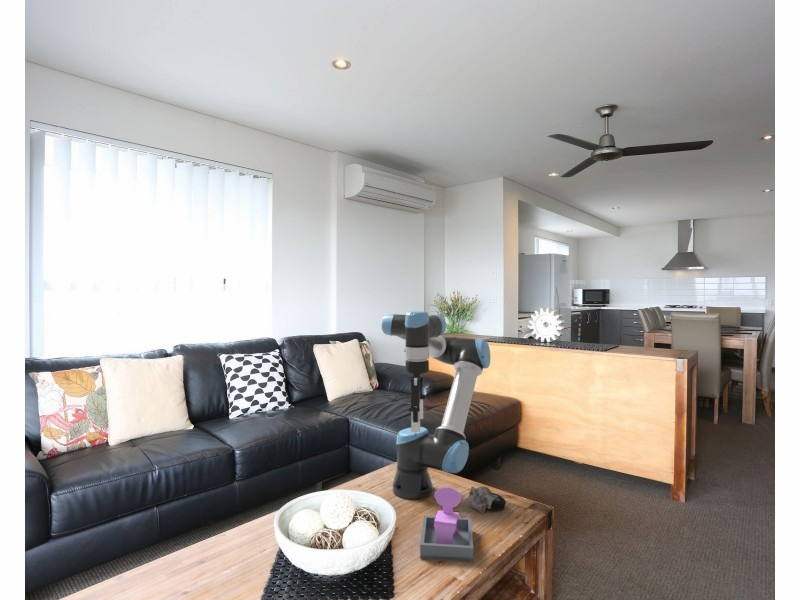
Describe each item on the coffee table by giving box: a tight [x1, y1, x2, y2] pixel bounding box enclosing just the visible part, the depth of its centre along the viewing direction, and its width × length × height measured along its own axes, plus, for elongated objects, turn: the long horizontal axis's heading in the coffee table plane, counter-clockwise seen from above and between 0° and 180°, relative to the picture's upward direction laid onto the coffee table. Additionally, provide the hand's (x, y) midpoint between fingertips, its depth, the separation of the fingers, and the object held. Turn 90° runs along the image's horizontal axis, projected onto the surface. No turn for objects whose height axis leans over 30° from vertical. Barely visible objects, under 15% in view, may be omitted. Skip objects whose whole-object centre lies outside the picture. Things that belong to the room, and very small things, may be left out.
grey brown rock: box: [466, 486, 507, 514], centre depth 157 cm, size 7×11×10 cm
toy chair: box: [433, 486, 462, 545], centre depth 135 cm, size 8×9×15 cm
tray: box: [419, 515, 474, 563], centre depth 135 cm, size 16×15×4 cm
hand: (417, 425), depth 145 cm, fingers open, 13 cm apart
